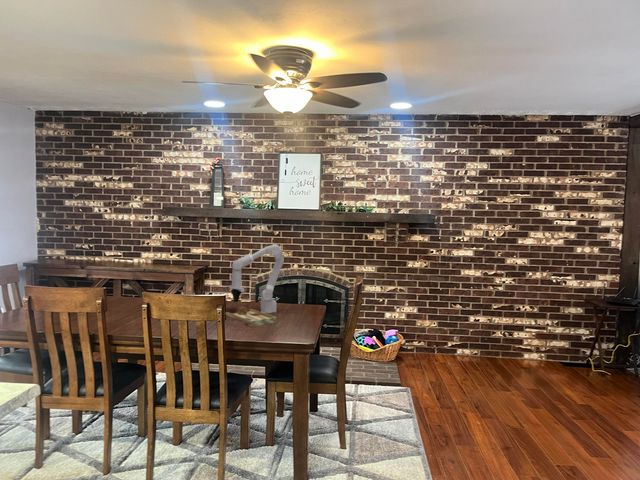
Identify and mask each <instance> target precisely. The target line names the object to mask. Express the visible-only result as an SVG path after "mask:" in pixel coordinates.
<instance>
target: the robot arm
mask: <svg viewBox="0 0 640 480" xmlns="http://www.w3.org/2000/svg"><path fill="white" fill-rule="evenodd" d="M264 255H272V256H273V257H274V259H275V262H274V265H273V268H272V270H271V272H270V275H269V278H268V281H267V283H266V285H265V287H264V289H262V291H261V297H262V298H261V299H260V312H262V313H266V314H271V313H277V301H276V299H273V296H274V295H273V292H274V288H275V286H276V283H277V280H278V277H279V275H280V273H281V269H282V267H283V265H284V262H285V259H284V254H283V250H282V249H281V246H280V245H279V244H277V243H274V244H271V245H268V246H265V247H263V248H262V249H260V250H258V251H256V252H254V253H252V254H250V253H248V254H244V256H242V257H240V258H237V259H235V260H234V261H233V262H232V265H231V266H232V272H231V273H232V274H231V284H230V285H228V288H229V289H231V290H230V293H231V295H232V298H233V302H235V303H238V302H239V299H240V296H241V294H242V293H245V288H244V287H242V276H243V275H242V268H245V267H247V266H249V265H251V264H252V263H254V260H256V259H258V258H260V257H262V256H264Z"/></svg>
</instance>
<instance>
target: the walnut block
mask: <svg viewBox="0 0 640 480" xmlns="http://www.w3.org/2000/svg"><path fill="white" fill-rule="evenodd" d="M247 312H248V307H245V306H237V313H238V314H239V315H246V314H247Z"/></svg>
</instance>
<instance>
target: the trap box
mask: <svg viewBox="0 0 640 480" xmlns="http://www.w3.org/2000/svg"><path fill="white" fill-rule="evenodd" d="M254 314H255V315H254ZM225 315H226V316H227V317H230V318H234V319H235V320H238V321H241V322H244V325H245V326H248V327H250V328H251V327H257V326H258V327H259V326H262V325H264V326H265V325H269V324H276V323H277V322H278V317H277V316H274V315H272V314H270V313H262V312H261V311H259V310H257V309H253V308H249V311H248V310H247V314H246V315H239V314H238V312H235V313H231V312H228V311H226V312H225Z"/></svg>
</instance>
